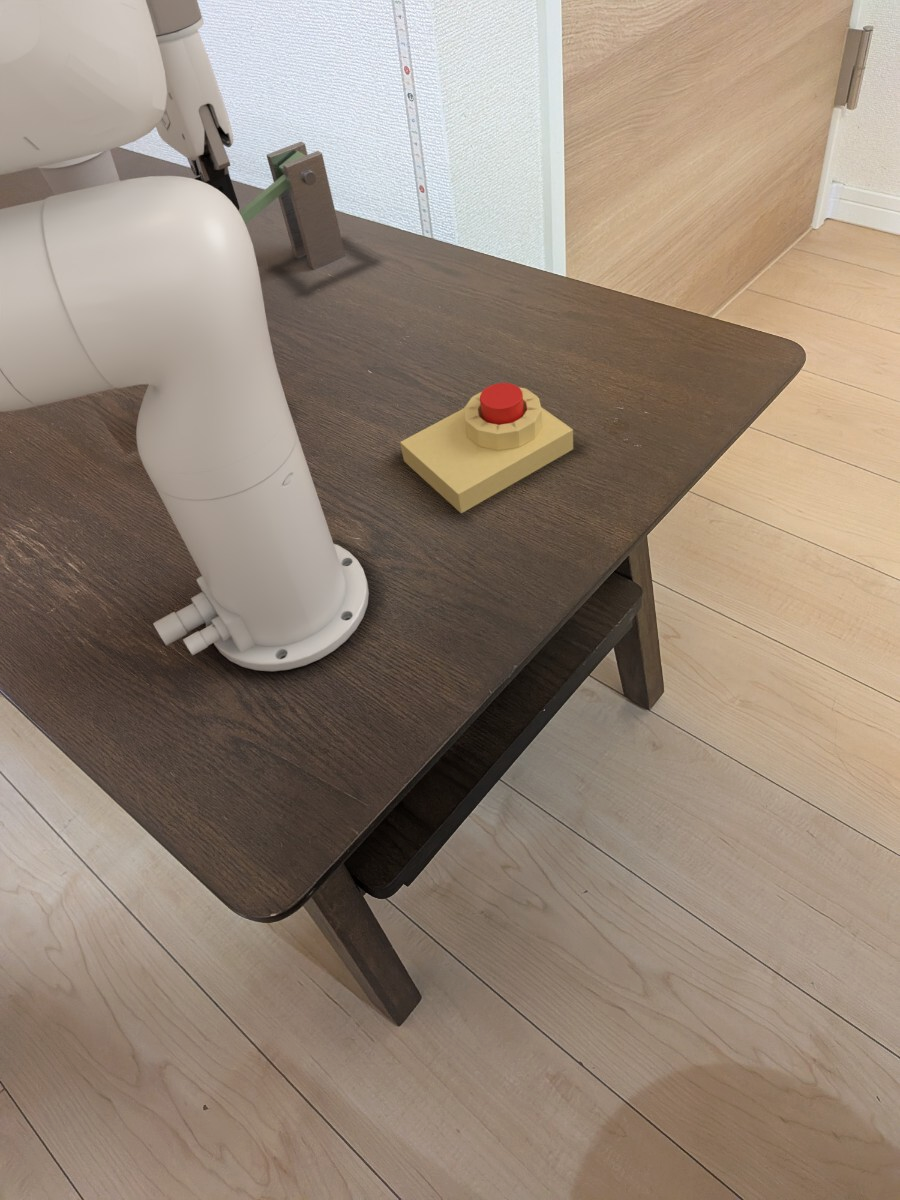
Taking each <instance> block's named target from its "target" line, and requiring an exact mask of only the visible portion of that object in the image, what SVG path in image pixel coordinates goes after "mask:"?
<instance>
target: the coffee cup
mask: <svg viewBox="0 0 900 1200" xmlns="http://www.w3.org/2000/svg"><path fill="white" fill-rule="evenodd" d="M37 168H38V169H39V171H40V173H41V174H42V176H43V178H44V180H45V181H46V183H47V185H48V186H49V189H50V190H51V192H52V194H53V196H54V195H59V194H64V193H68V192H73V191H77V190H82V189H86V188H91V187H95V186H100V185H104V184H109V183H114V182H118V181H121V180H120V176H119V174H118V170H117V168H116V164H115V161H114V158H113V155H112V152H111V149H110V150H107V151H103V152H100V153H96V154H92V155H88V156H84V157H79V158H75V159H71V160H67V161H62V162H58V163H54V164H49V165H45V166H40V167H37Z"/></svg>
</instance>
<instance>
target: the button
mask: <svg viewBox="0 0 900 1200" xmlns="http://www.w3.org/2000/svg"><path fill="white" fill-rule="evenodd" d="M519 387H520V386H518V385H516V384H513V383H510V382H498V383H494V384H491V385H489V386H487V387H485V388H484V389H483V390H482V391H481V392H482V393H481V395H480V404H481V413H482V417H483V419H484V420H485V421H486V422H488V423H492V424H497V425H501V424H507V423H513V422H515V421H516V420H518V419H520V418H521V416H522V415H523V412H524V407H523V393H522V391H521V389H520V388H521V387H520V388H519Z"/></svg>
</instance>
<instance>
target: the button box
mask: <svg viewBox="0 0 900 1200" xmlns="http://www.w3.org/2000/svg"><path fill="white" fill-rule="evenodd" d="M518 387H519V388H520V389H521V391H522V393H523V407H524V412H523V415H522V416H521V418H520V419H518V420H516V421H515V422H513V423H507V424H501V425H497V424H492V423H488V422H486V421H485V420H484V419H483V417H482V413H481V404H480V395H481V393H482V391H480V392H478V393H476V394H475V395H473V396H471V398H470V399H469V400H468V402H467V403H466V405H465V406H464V407H463V408H462V409H460V410H458V411H456V412H454V413H452V414H449V416H447V417H445V418H443V419H441V420H439V421H437V422H436V423H433V424H431V425H429V426H427V427H426V428H424V429H422V430H420V431H418V432H417V433H414V434H412V435H411V436H409V437H407V438H405V439H403V440H402V441H400V442H399V445H400V449H401V453H402V458H403V462H404V463H405V464H406V465H408V466H409V467H410V468H411V469H412V470H413V471H414V472H415V473H416V474H418V475H419V477H421V479H423V480H424V481H425V482H426V483H427V484H428V485H429V486H431V488H432V489H434V491H436V492H437V493H438V494H439V495H440V496H442V498H444V499H445V500H446V501H447V502H448V503H449V504H451V506H452V507H454V508H455V509H456V510H457V511H458V512H459V513H460V514H463V513H465V512H466V511H468V510H470V509H471V508H473V507H475V506H477V505H479V504H480V503H482V502H484V501H486V500H487V499H489V498H491V497H493V496H494V495H496V494H498V493H499V492H502V491H503V490H505V489H507V488H508V487H510V486H512V485H514V484H515V483H517V482H519V481H520V480H522V479H524V478H526V477H527V476H529V475H531V474H533V473H534V472H536V471H538V470H540V469H541V468H544V467H545V466H547V465H548V464H551V462H554V461H556V460H557V459H559V458H561V457H563V456H564V455H566V454H567V453H569V452H571V451H573V450H574V429H573V428H572V427H571V426H569V425H568V424H566V423H565V422H563V421H562V420H560V419H559V418H557V417H556V416H555V415H553V414H552V413H550V412H549V411H548V410H547V409H545V408H543V407H542V406H541V405H542V404H541V401H540V398H539V396H538V395H536V394H534V393H533V392H532V391H531V390H529V389H528V388H526V387H520V386H518Z"/></svg>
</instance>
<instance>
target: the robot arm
mask: <svg viewBox="0 0 900 1200" xmlns="http://www.w3.org/2000/svg"><path fill="white" fill-rule="evenodd" d="M203 25H204V19H203V15H202V12H201V8H200V6H199V2H198V0H0V176H4V175H9V174H13V173H18V172H23V171H26V170H32V169H36V168H38V167H40V166H45V165H49V164H54V163H58V162H62V161H67V160H71V159H75V158H79V157H84V156H88V155H92V154H96V153H100V152H103V151H107V150H110V151H111V150H113V149H118V148H120V147H123V146H126V145H128V144H131V143H134V142H136V141H138V140H140V139H141V138H143V137H145V136H147V135H149V134H150V133H152V131H153V130H154V129H156V132H157V133H158V136H159V137H160V139H161V140H162V141H163V142H164V143H165V144H167V145H168V146H169V147H171V148H172V149H173V150H175V151H176V152H177V153H179V154H181V155H182V156H184V157H185V158H186V160H187V161H188V164H189V167H190V169H191V171H192V174H193V175H194V177H195V178H192V177H186V176H180V175H179V176H178V175H155V176H154V175H152V176H150V175H149V176H143V177H136V178H128V179H123V180H120V181H118V182H114V183H109V184H104V185H100V186H95V187H91V188H86V189H82V190H77V191H73V192H68V193H64V194H59V195H54V194H53V195H51V196H48V197H45V199H40V200H35V201H31V202H27V203H22V204H18V205H13V206H9V207H4V208H0V413H5V412H6V413H7V412H14V411H15V412H16V411H22V410H26V409H31V408H35V407H40V406H46V405H49V404H55V403H59V402H64V401H68V400H71V399H76V398H80V397H84V396H89V395H93V394H97V393H101V392H105V391H106V392H107V391H110V390H114V389H118V390H119V389H124V388H128V387H135V386H139V385H140V386H141V385H147V388H146V390H145V392H144V396H143V399H142V402H141V405H140V408H139V411H138V416H137V421H136V427H135V434H136V436H135V438H136V447H137V451H138V455H139V458H140V461H141V463H142V466H143V468H144V469H145V472H146V473H147V476H148V477H149V479H150V481H151V483H152V485H153V486H154V488H155V489H156V492H157V494H158V495H159V497H160V499H161V501H162V503H163V505H164V507H165V509H166V510H167V513H168V515H169V516H170V519H171V520H172V522H173V524H174V526H175V528H176V529H177V532H178V533H179V535H180V537H181V539H182V541H183V543H184V545H185V546H186V548H187V550H188V552H189V555H190V557H191V558H192V560H193V562H194V563H195V565H196V567H197V569H198V571H199V573H200V575H201V576H199V577H198V578H196V582H197V584H198V586H199V588H200V590H201V592H198V594H196V595H194V596H192V597H190V600H191V602H192V603H190V604H189V605H187V606H185V607H183V608H181V609H179V610H177V611H173V612H171V613H169V614H167V615H165V616H163V617H161V618H160V619H158V620H156V621H154V622H152V624H153V627H154V628H155V630H156V632H157V633H158V635H159V637H160V638H161V640H162V641H163V643H164V645H165V646H169V645H171V644H173V643H175V642H176V641H178V640H180V639H182V638H183V637H185V636H187V635H188V634H189V633H190V632H191V631H193V630H194V629H196V628H198V627H200V626H202V625H204V624H205V628H202V629H201V630H197V631H196V632H194V633H192V634H190V635H188V636H187V637H185V638H183V639H182V641H183V643H184V644H185V646H186V647H187V650H188V651H189V652H190V654H191V656H192V657H193V656H195V655H196V654H198V653H199V652H202V651H203V650H205V649H207V648H209V646H210V645H212V644H213V646H215V648H216V649H217V650H218V652H219V654H221V655H222V656H223V657H225V658H226V659H227V660H228V661H230V662H231V663H234V664H236V665H238V666H240V667H242V668H245V669H250V670H254V671H262V672H279V671H290V670H293V669H296V668H301V667H305V666H307V665H309V664H312V663H314V662H317V661H318V660H319V661H320V660H321V659H322V658H325V657H326V656H328V655H329V654H331V653H333V652H334V651H336V650H337V649H339V648H340V646H342V645H343V644H344V643H346V642H347V640H348V639H349V638H350V637H351V636H352V635H353V634H354V633H355V632H356V630H357V629H358V627H359V625H360V624H361V622H362V621H363V619H364V616H365V615H366V611H367V608H368V605H369V595H370V591H369V583H368V580H367V577H366V574H365V571H364V568H363V567H362V565H361V563H360V562H359V560H358V559H357V558H356V557H355V556H354V555H353V554H352V553H351V552H350V551H349V550H347V549H345V548H343V546H340V545H339V544H336V543H334V541H333V537H332V535H331V532H330V529H329V526H328V523H327V520H326V517H325V513H324V510H323V508H322V505H321V502H320V498H319V496H318V492H317V490H316V486H315V483H314V480H313V477H312V475H311V471H310V468H309V465H308V463H307V458H306V456H305V453H304V450H303V447H302V445H301V441H300V438H299V435H298V433H297V429H296V426H295V423H294V420H293V417H292V414H291V410H290V407H289V405H288V401H287V398H286V395H285V392H284V388H283V385H282V381H281V378H280V374H279V371H278V367H277V364H276V360H275V356H274V351H273V347H272V345H273V344H272V341H271V337H270V332H269V326H268V321H267V315H266V309H265V301H264V296H263V290H262V289H263V288H262V284H261V283H262V282H261V277H260V270H259V266H258V261H257V257H256V252H255V247H254V244H253V242H252V238H251V236H250V233H249V229H248V227H247V224H245V223H244V221H243V219H242V216H241V215H240V213H239V211H240V204H239V200H238V198H237V195H236V192H235V188H234V185H233V183H232V179H231V176H230V171H229V167H230V166H231V162H230V158H229V156H228V154H227V151H226V148H231V147H232V145H233V143H234V134H233V133H234V132H233V129H232V126H231V122H230V118H229V115H228V111H227V108H226V105H225V101H224V99H223V96H222V93H221V90H220V86H219V84H218V81H217V78H216V75H215V72H214V69H213V67H212V63H211V61H210V58H209V54H208V53H207V50H206V48H205V45H204V43H203V40H202V38H201V35H200V32H199V30H200V29H201V28H202V27H203ZM225 147H226V148H225Z"/></svg>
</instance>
